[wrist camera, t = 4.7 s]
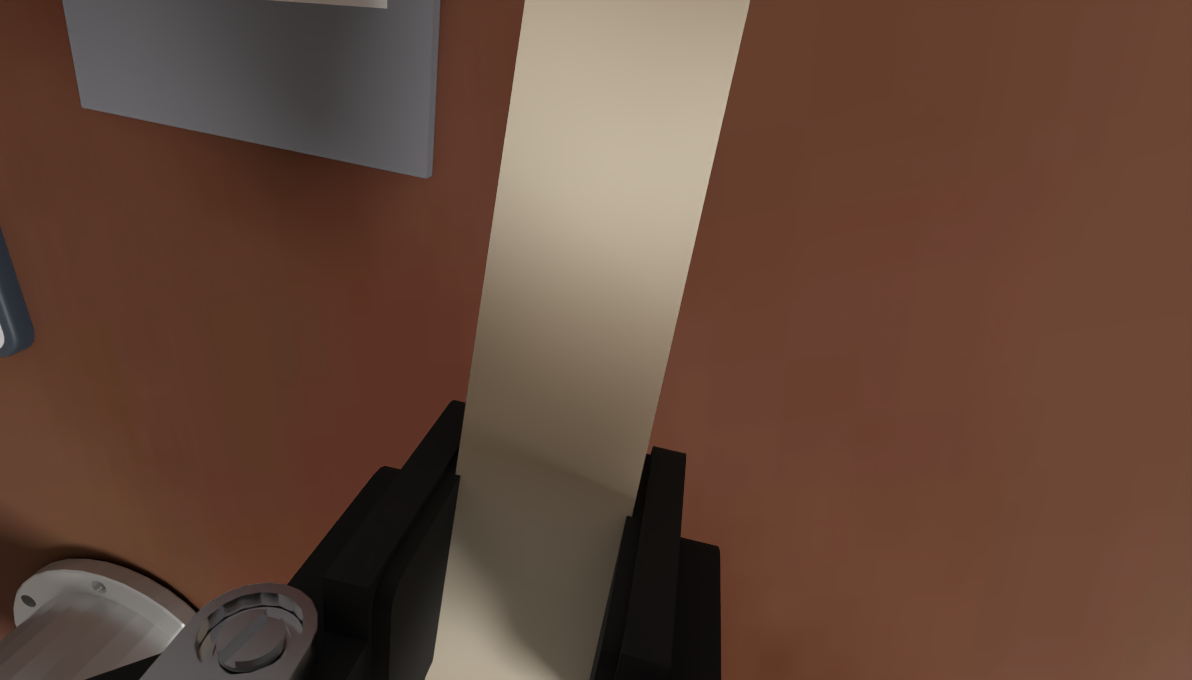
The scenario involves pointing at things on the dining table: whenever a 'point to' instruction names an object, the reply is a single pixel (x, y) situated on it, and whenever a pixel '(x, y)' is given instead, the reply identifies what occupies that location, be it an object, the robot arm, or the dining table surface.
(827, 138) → the dining table surface
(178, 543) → the dining table surface
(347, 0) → the tile
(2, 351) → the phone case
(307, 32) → the mat
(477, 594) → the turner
